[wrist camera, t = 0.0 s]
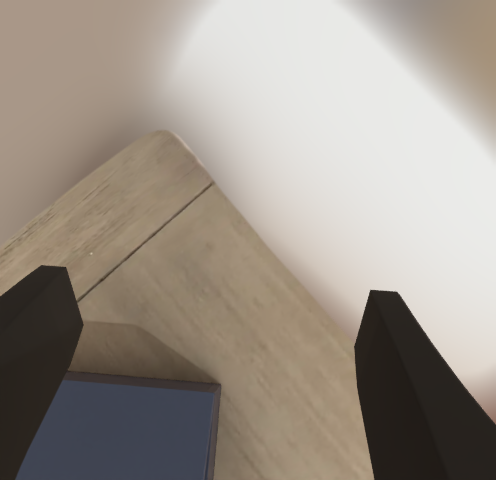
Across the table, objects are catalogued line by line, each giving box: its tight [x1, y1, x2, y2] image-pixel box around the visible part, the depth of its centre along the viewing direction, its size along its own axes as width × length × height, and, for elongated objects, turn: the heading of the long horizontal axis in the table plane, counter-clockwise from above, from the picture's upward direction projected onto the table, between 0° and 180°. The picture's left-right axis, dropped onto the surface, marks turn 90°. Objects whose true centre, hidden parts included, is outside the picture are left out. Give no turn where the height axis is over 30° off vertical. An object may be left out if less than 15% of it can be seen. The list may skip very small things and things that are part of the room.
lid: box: [15, 380, 215, 480], centre depth 32 cm, size 12×16×1 cm
